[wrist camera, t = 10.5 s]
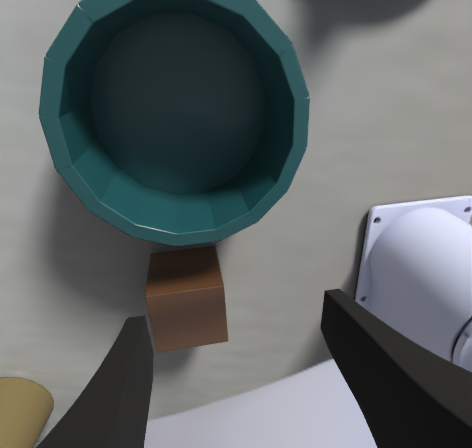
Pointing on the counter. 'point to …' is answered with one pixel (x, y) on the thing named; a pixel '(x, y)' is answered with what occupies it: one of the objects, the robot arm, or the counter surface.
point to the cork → (22, 412)
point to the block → (186, 299)
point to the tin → (174, 115)
